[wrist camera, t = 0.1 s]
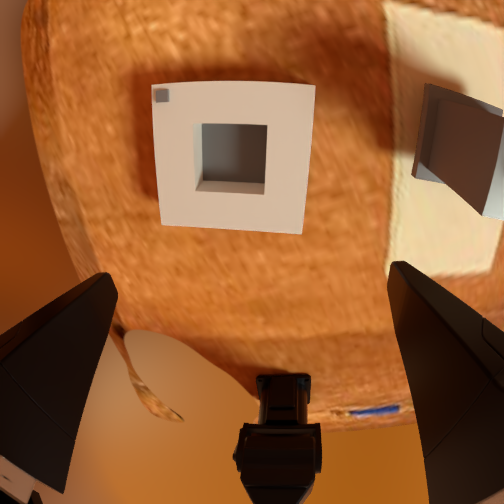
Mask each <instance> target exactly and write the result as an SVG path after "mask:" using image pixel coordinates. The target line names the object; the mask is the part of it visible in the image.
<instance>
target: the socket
mask: <svg viewBox="0 0 504 504" xmlns="http://www.w3.org/2000/svg"><path fill="white" fill-rule="evenodd" d="M151 86H152V116H153V135H154V151H155V164H156V176H157V187H158V197H159V207H160V216H161V224H162V225H170V226H188V227H204V228H220V229H235V230H249V231H263V232H277V233H290V234H302V228H303V220H304V211H305V202H306V193H307V183H308V173H309V162H310V152H311V140H312V128H313V115H314V102H315V87H316V86H315V85H310V84H299V83H287V82H270V81H191V82H174V83H163V84H155V85H151Z"/></svg>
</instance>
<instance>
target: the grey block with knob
mask: <svg viewBox="0 0 504 504" xmlns="http://www.w3.org/2000/svg"><path fill="white" fill-rule="evenodd" d="M502 113H503V110H502V109H499V108H497V107H495V106H492V105H490V104H487V103H485V102H482V101H480V100H477V99H474V98H472V97H469V96H466V95H463V94H460V93H457V92H454V91H451V90H448V89H445V88H442V87H439V86H435V85H432V84H426V83H425V87H424V97H423V106H422V113H421V121H420V128H419V134H418V141H417V147H416V152H415V158H414V163H413V168H412V173H411V175H412V176H413V177H414V178H416V179H422V180H427V181H433V182H438V183H443V184H446V185H448V186H449V187H450V188H451V189H452V190H454V191H455V192H456V193H457V194H458V195H459V196H460V197H462V198H463V199H464V200H465V201H466V202H467V203H468V204H469V205H471V206H472V207H473V208H474V209H475V210H476V211H477V212H478V213H479V214H480V215H481V216H484V217H489V218H495V219H500V220H504V117H502Z"/></svg>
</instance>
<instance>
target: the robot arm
mask: <svg viewBox="0 0 504 504" xmlns="http://www.w3.org/2000/svg"><path fill="white" fill-rule="evenodd" d="M387 292H388V297H389V302H390V307H391V312H392V318H393V324H394V329H395V334H396V338H397V341H398V345H399V349H400V352H401V356H402V360H403V363H404V367H405V371H406V375H407V379H408V383H409V387H410V391H411V396H412V400H413V405H414V409H415V414H416V419H417V424H418V429H419V434H420V439H421V445H422V451H423V457H424V464H425V471H426V479H427V486H428V495H429V504H504V332H503V331H501V330H500V329H499V328H497V327H496V326H495V325H493V324H492V323H491V322H490V321H488V320H487V319H486V318H483V317H482V315H480V314H479V313H478V312H476V311H475V310H474V309H472V308H471V307H470V306H468V305H467V304H466V303H464V302H463V301H462V300H460V299H459V298H457V297H456V296H455V295H453V294H452V293H450V292H449V291H448V290H446V289H445V288H443V287H442V286H441V285H439V284H438V283H436V282H435V281H433V280H432V279H431V278H429V277H428V276H426V275H425V274H423V273H422V272H420V271H419V270H417V269H416V268H414V267H413V266H412V265H410V264H409V263H407V262H405V261H393V262H392V263H391V265H390V271H389V277H388V282H387ZM117 300H118V292H117V289H116V287H115V284H114V282H113V280H112V277H111V275H110V274H109V273H107V272H103V273H97V274H95V275H93V276H92V277H90V278H88V279H87V280H85V281H83V282H82V283H80V284H79V285H77V286H75V287H74V288H72V289H71V290H69V291H68V292H66V293H65V294H63V295H61V296H59V297H58V298H56V299H55V300H53V301H52V302H50V303H48V304H47V305H45V306H44V307H42V308H41V309H39V310H38V311H36V312H35V313H33V314H32V315H30V316H28V317H27V318H26V319H24V320H23V321H21V322H20V323H18V324H17V325H15V326H14V327H12V328H10V329H9V330H7V331H6V332H4V333H3V334H1V335H0V504H43V503H42V501H41V498H40V495H39V493H38V492H36V491H34V490H33V488H34V485H35V482H36V481H38V482H39V483H41V484H43V485H45V486H47V487H49V488H51V489H53V490H55V491H57V492H59V493H61V494H63V493H64V490H65V485H66V480H67V476H68V471H69V466H70V462H71V457H72V453H73V449H74V445H75V440H76V436H77V432H78V428H79V425H80V421H81V417H82V414H83V410H84V407H85V403H86V400H87V397H88V393H89V390H90V387H91V384H92V380H93V377H94V374H95V371H96V368H97V365H98V362H99V359H100V356H101V353H102V351H103V347H104V345H105V342H106V339H107V336H108V333H109V329H110V326H111V322H112V318H113V314H114V310H115V307H116V303H117ZM256 383H257V389H258V394H259V399H260V410H259V420H258V424H249V423H244V425H243V428H241V429H240V433H239V440H238V443H237V446H236V448H235V451H234V453H233V460H234V461H235V462H236V465H237V470H238V472H241V476H240V479H241V481H242V484H243V486H244V488H245V490H246V492H247V494H248V496H249V498H250V499H251V501H252V503H253V504H303V503H304V501H305V500H306V499H307V497H308V496H309V495H310V493H311V491H312V488H313V485H314V480H315V473H321V466H322V444H321V429H320V423H315V424H307V404H309V403H310V389H311V376H310V375H285V376H257V377H256Z"/></svg>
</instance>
